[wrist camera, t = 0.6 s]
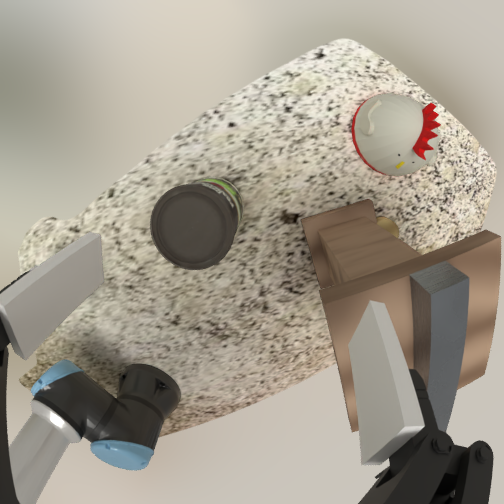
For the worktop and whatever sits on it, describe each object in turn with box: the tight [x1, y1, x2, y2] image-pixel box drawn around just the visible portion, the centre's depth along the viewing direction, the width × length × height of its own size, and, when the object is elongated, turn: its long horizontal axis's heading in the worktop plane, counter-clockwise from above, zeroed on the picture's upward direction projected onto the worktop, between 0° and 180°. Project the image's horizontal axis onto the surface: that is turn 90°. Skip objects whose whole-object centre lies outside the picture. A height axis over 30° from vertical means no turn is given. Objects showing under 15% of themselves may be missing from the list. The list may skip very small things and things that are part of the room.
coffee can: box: [150, 177, 244, 270], centre depth 39 cm, size 10×10×14 cm
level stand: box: [301, 199, 501, 432], centre depth 32 cm, size 15×17×30 cm
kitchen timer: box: [351, 93, 441, 176], centre depth 34 cm, size 14×14×15 cm
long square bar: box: [409, 261, 469, 432], centre depth 18 cm, size 24×3×3 cm, turn 19°
